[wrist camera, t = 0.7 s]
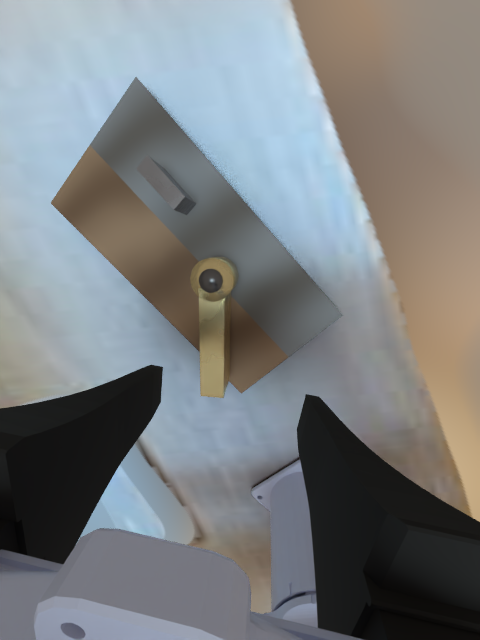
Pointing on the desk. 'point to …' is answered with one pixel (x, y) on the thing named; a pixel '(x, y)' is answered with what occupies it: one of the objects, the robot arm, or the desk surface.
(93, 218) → the board
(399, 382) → the desk surface
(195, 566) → the robot arm
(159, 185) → the block
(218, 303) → the lock bar
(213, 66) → the desk surface
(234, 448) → the desk surface
